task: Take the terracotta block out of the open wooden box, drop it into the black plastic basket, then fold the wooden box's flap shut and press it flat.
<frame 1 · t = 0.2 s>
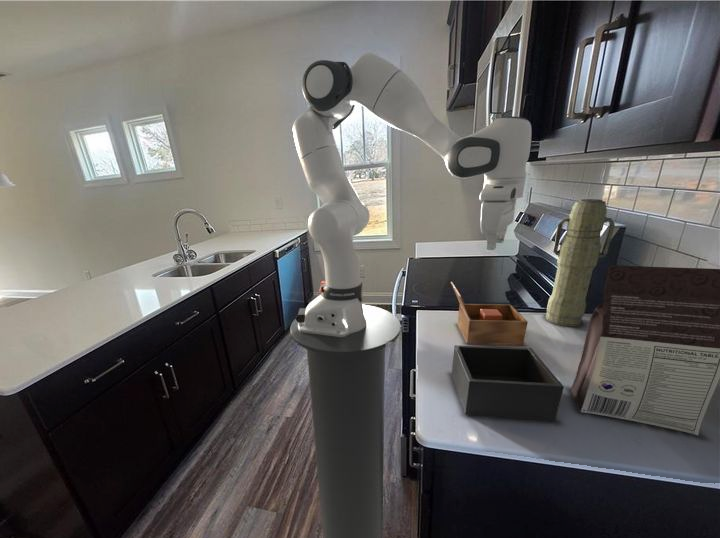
hand: (495, 245, 83), 25 cm above the countertop, tool pointing down, fingers open, 8 cm apart
thermos: (562, 320, 96), on the countertop
flap: (460, 299, 88), point 11 cm above the countertop, hinge at 115.0°
basket: (497, 395, 66), on the countertop
protein powder: (626, 410, 60), on the countertop
wooden box: (487, 334, 91), on the countertop
beverage box: (644, 372, 71), on the countertop
block: (488, 332, 90), resting on wooden box
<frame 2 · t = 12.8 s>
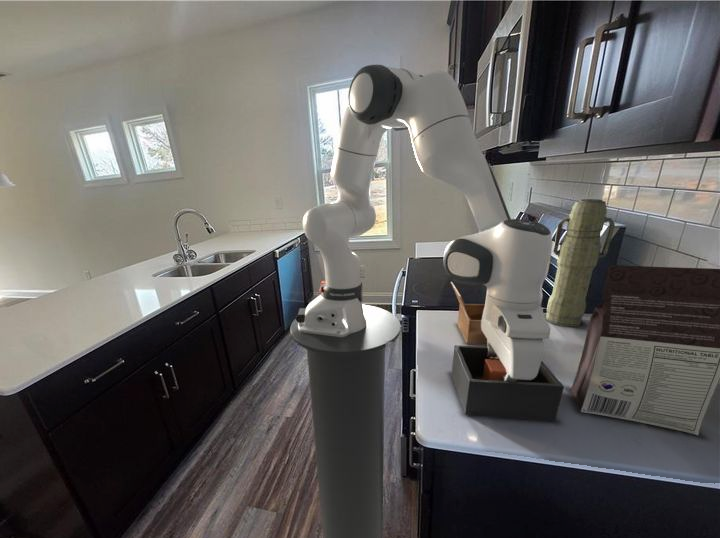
hand: (499, 371, 64), 6 cm above the countertop, tool pointing down, fingers open, 8 cm apart
block: (495, 391, 66), point 1 cm above the countertop, touching basket
everything else where it was.
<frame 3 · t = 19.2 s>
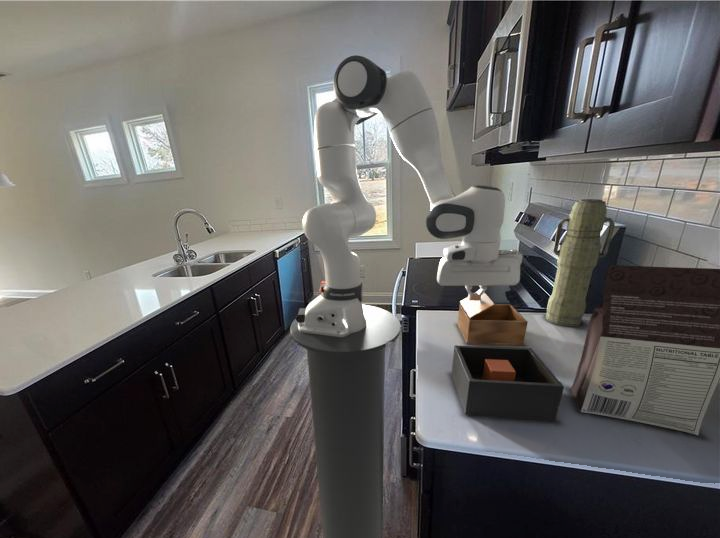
hand: (474, 299, 88), 11 cm above the countertop, tool pointing down, fingers closed
flap: (476, 303, 88), point 10 cm above the countertop, hinge at 36.1°
everything else where it was.
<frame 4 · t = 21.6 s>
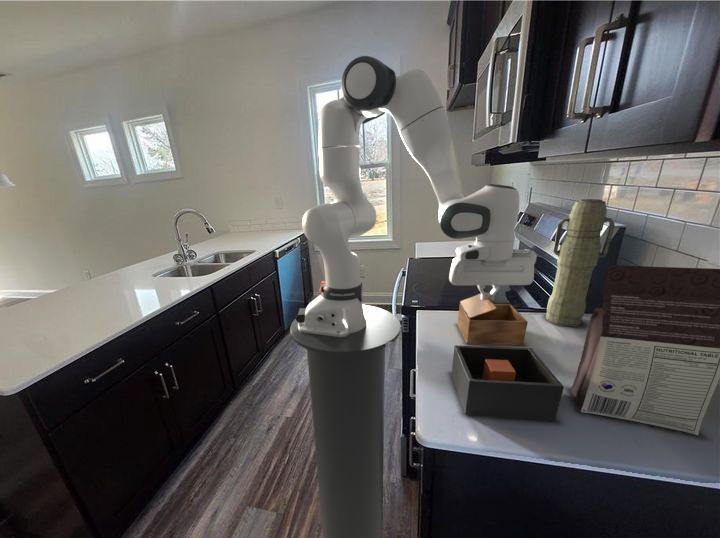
hand: (486, 299, 87), 11 cm above the countertop, tool pointing down, fingers closed
flap: (477, 305, 88), point 9 cm above the countertop, hinge at 24.8°, touching gripper
everything else where it was.
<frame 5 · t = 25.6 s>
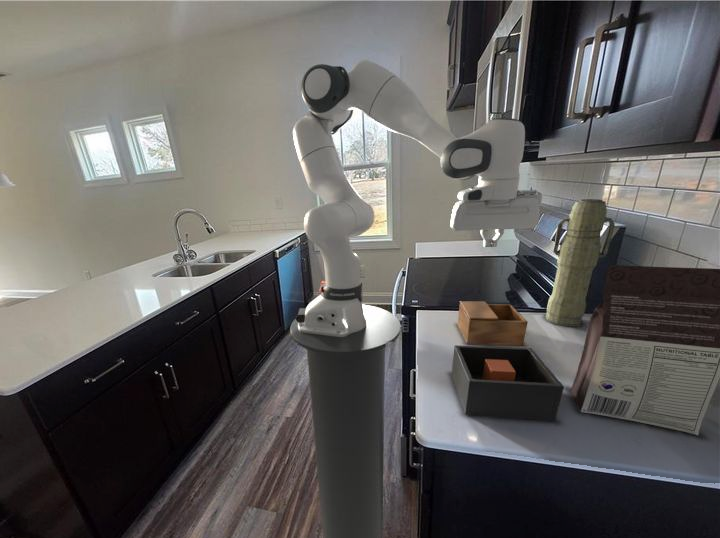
hand: (489, 246, 84), 25 cm above the countertop, tool pointing down, fingers closed
flap: (477, 309, 89), point 8 cm above the countertop, hinge at 0.7°
everything else where it was.
at the end: block inside the target area in the basket (0.4 cm from its centre), point 0.8 cm above the basket's base; flap at +1° (first picture: +115°) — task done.
